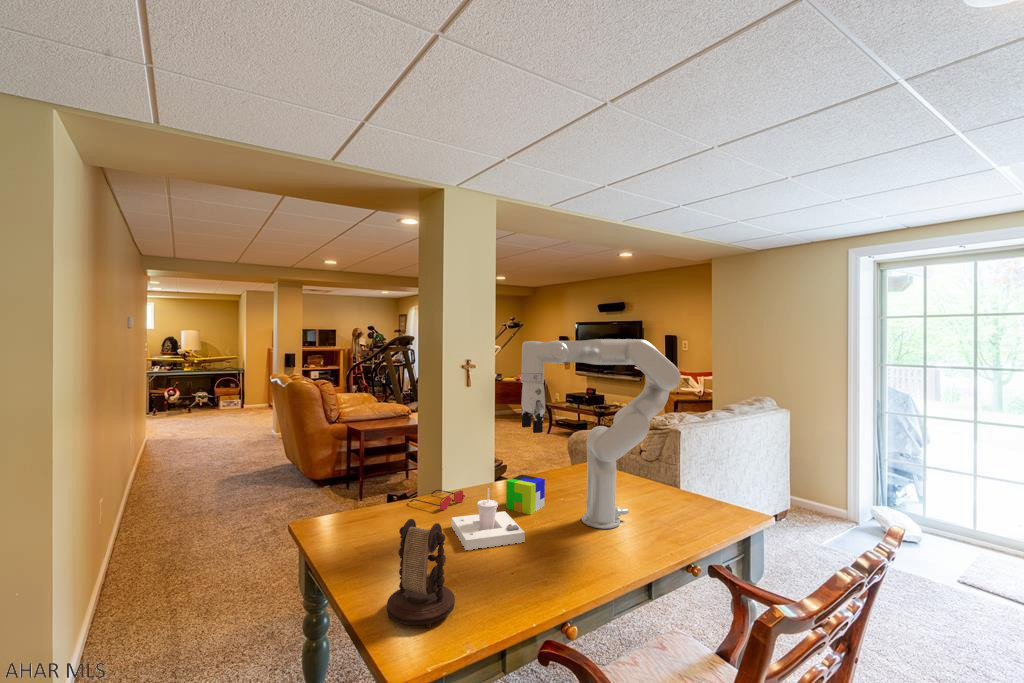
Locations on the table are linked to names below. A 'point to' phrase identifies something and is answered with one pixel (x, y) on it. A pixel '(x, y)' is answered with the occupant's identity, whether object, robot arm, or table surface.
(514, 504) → the puzzle toy
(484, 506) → the smoothie
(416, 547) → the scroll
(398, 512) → the table surface
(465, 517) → the socket plate
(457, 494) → the glasses
